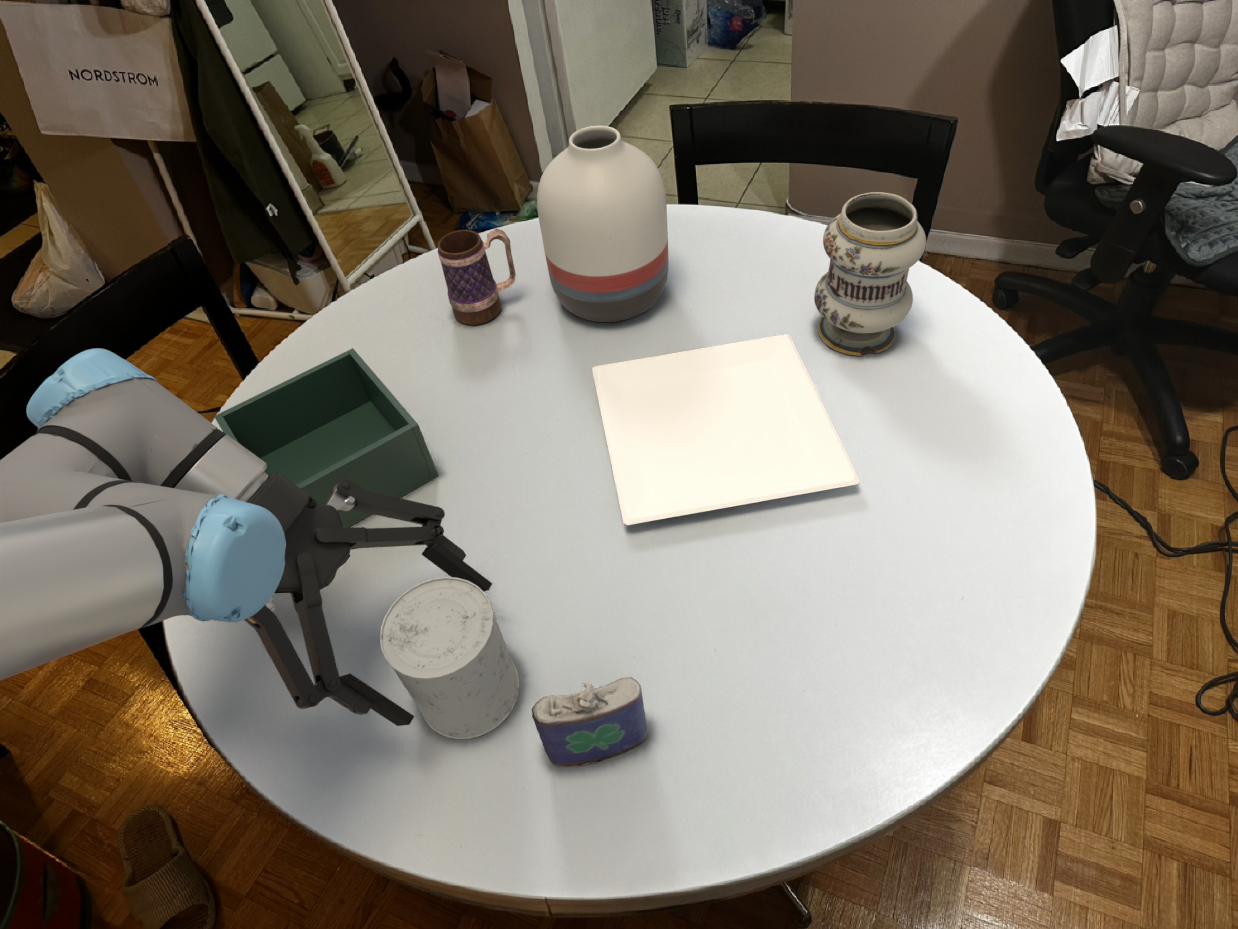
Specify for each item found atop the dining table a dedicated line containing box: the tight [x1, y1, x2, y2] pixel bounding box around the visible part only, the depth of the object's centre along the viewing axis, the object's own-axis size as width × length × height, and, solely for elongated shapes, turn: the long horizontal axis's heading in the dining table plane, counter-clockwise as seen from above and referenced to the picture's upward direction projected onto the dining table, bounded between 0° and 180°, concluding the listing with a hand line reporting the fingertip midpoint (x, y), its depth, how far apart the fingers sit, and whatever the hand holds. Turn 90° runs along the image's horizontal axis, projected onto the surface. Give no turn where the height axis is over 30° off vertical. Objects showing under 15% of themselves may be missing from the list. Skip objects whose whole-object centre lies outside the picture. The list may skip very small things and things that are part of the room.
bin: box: [213, 347, 439, 528], centre depth 91 cm, size 18×18×9 cm
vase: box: [536, 125, 669, 323], centre depth 104 cm, size 17×17×24 cm
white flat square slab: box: [591, 333, 861, 526], centre depth 93 cm, size 26×26×2 cm
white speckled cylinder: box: [379, 576, 520, 740], centre depth 70 cm, size 10×10×12 cm
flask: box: [531, 676, 649, 768], centre depth 66 cm, size 9×3×11 cm, turn 103°
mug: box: [437, 228, 516, 326], centre depth 109 cm, size 10×7×12 cm
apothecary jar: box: [813, 191, 927, 357], centre depth 97 cm, size 12×12×18 cm
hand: (447, 651), depth 69 cm, fingers open, 13 cm apart
